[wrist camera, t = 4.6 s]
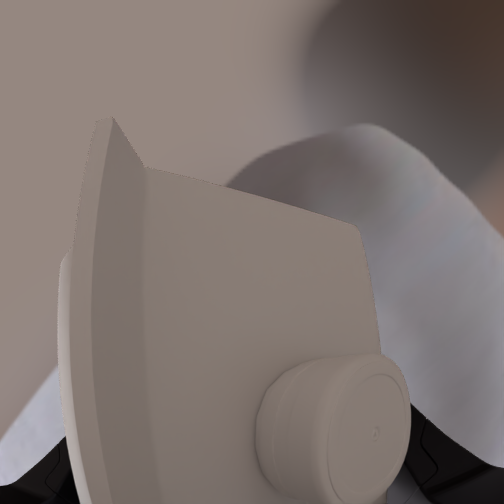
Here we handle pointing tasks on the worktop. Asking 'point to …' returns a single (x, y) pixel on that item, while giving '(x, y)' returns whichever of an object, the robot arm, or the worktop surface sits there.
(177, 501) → the milk carton
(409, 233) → the worktop surface
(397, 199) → the worktop surface
